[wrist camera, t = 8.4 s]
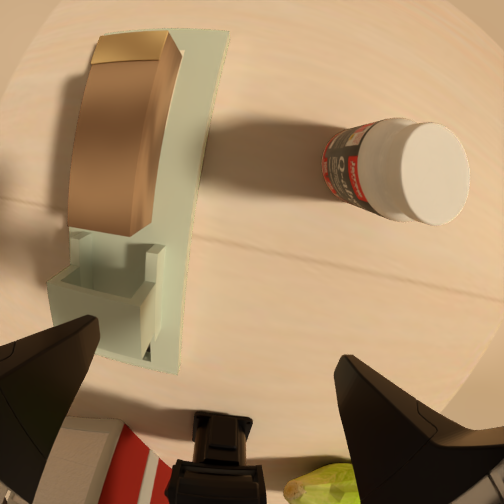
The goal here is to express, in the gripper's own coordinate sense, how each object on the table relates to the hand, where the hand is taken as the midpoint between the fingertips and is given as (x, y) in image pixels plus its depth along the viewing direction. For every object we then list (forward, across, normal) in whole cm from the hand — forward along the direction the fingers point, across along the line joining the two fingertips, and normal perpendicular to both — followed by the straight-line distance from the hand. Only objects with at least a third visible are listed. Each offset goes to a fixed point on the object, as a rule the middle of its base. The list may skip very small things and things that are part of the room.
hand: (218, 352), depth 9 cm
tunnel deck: (+12, +8, -2) cm, 15 cm away
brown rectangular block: (+10, +8, -8) cm, 15 cm away
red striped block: (+12, +14, +36) cm, 41 cm away
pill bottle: (+12, -8, -8) cm, 17 cm away
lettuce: (+12, -22, +34) cm, 43 cm away
